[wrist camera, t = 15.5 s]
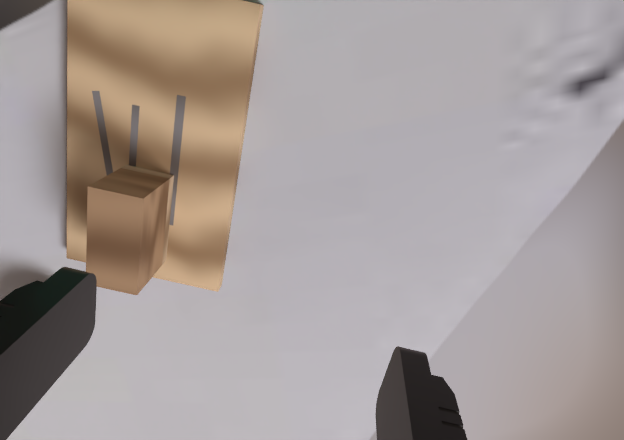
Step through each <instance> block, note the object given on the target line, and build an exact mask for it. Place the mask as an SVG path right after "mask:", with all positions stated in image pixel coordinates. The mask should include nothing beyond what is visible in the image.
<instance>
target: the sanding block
mask: <svg viewBox="0 0 624 440" xmlns="http://www.w3.org/2000/svg"><path fill="white" fill-rule="evenodd" d="M173 182H174V175H171V174H166V173H161V172H157V171H152V170H148V169H143V168H139V167H134V166H130V165H125V166H124V167H122V168H120V169H118V170H116V171H115V172H113V173H111V174H109V175H107V176H106V177H104V178H102V179H100V180H98V181H96V182H95V183H93V184H91V185H89V186H88V195H87V246H86V272H88V273H93V274H95V276H96V280H97V285H96V286H97V287H102V288H106V289H111V290H115V291H120V292H124V293H129V294H133V295H137V294H138V293H139V292H140V291H141V290H142V288H143V287H144V286H145V285H146V284H147V283H148V281H149V280H150V279H151V278H152V277H153V275H154V274H155V273H156V272H157V271H158V269H159V268H160V267H161V266H162V265H163V264H164V262H165V261H166V257H167V246H168V236H169V225H170V214H171V204H172V193H173Z"/></svg>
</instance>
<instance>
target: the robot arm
mask: <svg viewBox="0 0 624 440" xmlns="http://www.w3.org/2000/svg"><path fill="white" fill-rule="evenodd" d="M96 285H97V280H96V276H95V274H93V273H88V272H84V271H80V270H76V269H72V268H67V267H63V268H61V269H59V270H58V271H57V272H56V273H55V274H53V275H52V276H51V277H50V278H48V279H47V280H46V281H45V282H40V281H35V282H33V283H30V284H28V285H25V286H23V287H20V288H18V289H15V290H14V291H12V292H11V293H10V294H9V295H7V296H6V297H5V298H3V299H2V300H1V301H0V440H6V439H7V438H8V437H9V436H10V434H11V433H12V432H13V431H14V430H15V429H16V427H17V426H18V425H19V424H20V423H21V421H22V420H23V419H24V418H25V417H26V416H27V414H28V413H29V412H30V411H31V410H32V409H33V407H34V406H35V405H36V404H37V403H38V401H39V400H40V399H41V398H42V397H43V396H44V394H45V393H46V392H47V391H48V390H49V389H50V387H51V386H52V385H53V384H54V383H55V381H56V380H57V379H58V378H59V377H60V376H61V374H62V373H63V372H64V371H65V370H66V368H67V367H68V366H69V365H70V364H71V363H72V361H73V360H74V359H75V358H76V357H77V356H78V354H79V353H80V352H81V351H82V350H83V348H84V347H85V346H86V345H87V343H88V341H89V340H90V338H91V335H92V333H93V330H94V325H95V310H96ZM376 429H377V440H467V438H466V434H465V430H464V429H463V423H462V419H461V416H460V415H459V409H458V405H457V401H456V398H455V394H454V393H453V391H452V390H451V389H450V387H449V386H448V385H447V383H446V382H445V380H444V379H443V378H442V377H438V376H434V375H431V372H430V368H429V363H428V359H427V355H426V354H425V353H423V352H419V351H415V350H410V349H406V348H402V347H396V348H395V350H394V352H393V354H392V357H391V360H390V363H389V365H388V368H387V371H386V374H385V376H384V379H383V382H382V385H381V387H380V390H379V394H378V398H377V404H376Z"/></svg>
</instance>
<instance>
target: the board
mask: <svg viewBox="0 0 624 440" xmlns="http://www.w3.org/2000/svg"><path fill="white" fill-rule="evenodd" d="M262 12H263V5H261V4H256V3H252V2H247V1H243V0H67V258H69V259H73V260H78V261H82V262H86V246H87V195H88V186H89V185H91V184H93V183H95V182H96V181H98V180H100V179H102V178H104V177H106V176H107V175H109V174H111V173H113V172H115V171H116V170H118V169H120V168H122V167H124V166H125V165H130V166H134V167H139V168H143V169H148V170H152V171H157V172H161V173H166V174H171V175H174V182H173V193H172V204H171V214H170V225H169V236H168V246H167V257H166V261H165V262H164V264H163V265H162V266H161V267H160V268H159V269H158V271H157V272H156V273H155V274H154V275H153V277H154V278H159V279H163V280H168V281H172V282H177V283H181V284H186V285H190V286H195V287H199V288H204V289H208V290H213V291H217V292H218V291H219V289H220V287H221V285H222V279H223V272H224V265H225V259H226V252H227V245H228V239H229V232H230V225H231V219H232V212H233V205H234V199H235V192H236V185H237V179H238V172H239V165H240V159H241V152H242V145H243V139H244V132H245V126H246V119H247V112H248V106H249V99H250V92H251V86H252V79H253V72H254V66H255V59H256V52H257V46H258V39H259V32H260V26H261V19H262Z"/></svg>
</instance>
